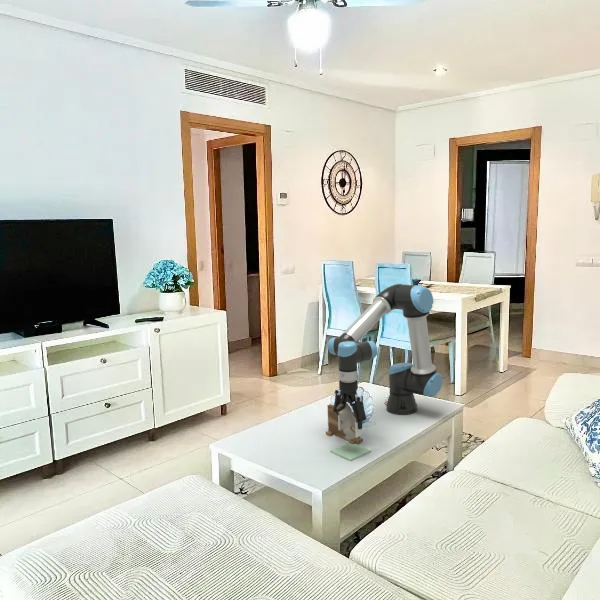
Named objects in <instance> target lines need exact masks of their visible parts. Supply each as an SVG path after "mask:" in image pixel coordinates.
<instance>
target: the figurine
mask: <svg viewBox="0 0 600 600" xmlns="http://www.w3.org/2000/svg"><path fill="white" fill-rule="evenodd" d="M336 410H337V411H338V413H339V417H340V420H341V421H342V423H341V427H342V428H343V431H344V433H345V434H346V436H345V439H347V440H349V439H354V438H356V432H355V421H356V419H355V417H354V416H353V414H352V412H353V409H352V407H351V406H350V404H349V403H348V402H346V404H345V403H341V404H339V405H338V406H337V408H336ZM345 439H344V440H345ZM347 440H346V441H347Z"/></svg>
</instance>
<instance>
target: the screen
mask: <svg viewBox="0 0 600 600" xmlns="http://www.w3.org/2000/svg"><path fill="white" fill-rule="evenodd" d="M333 409H334V404H331V403H330V404H328V405H327V424H328V425H327V426H328V427H327V429H328V430H326V431H325V435H326V436H328V437H332V436H335V437H337V438H340V439H343V440H345V441H347V443H351V444H357V445H360V444H361V443H363V442H364V439H363V438H361V436H359V437H356V438H354V439H349V440H347V439H345V436H346V434H345V433H344V431H343V429H342V430H339V429H338V420H337V414H336V412H334V411H333ZM352 414H353V416H354V417H355V415H354V412H353V411H352ZM355 419H356V417H355ZM356 421H357V420H356Z"/></svg>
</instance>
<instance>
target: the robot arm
mask: <svg viewBox="0 0 600 600" xmlns="http://www.w3.org/2000/svg"><path fill="white" fill-rule="evenodd" d="M433 304H434V297H433V293H432V291H431V290H430V289H429V288H428V287H426V286H422V285H418V284H417V285H414V284H402V283H396V284H393V285H390V286H388V287H387V288H384V289H383V290H382V291H380V292H379V293H378V294H377V295H376V296H374V298H373V299H372V302H371V304H370V305H369V306H368V307H367V308H366V309H364V311H363V312H362V313H361V314H360V315H359V316H358V317H357V318H356V319H355V320H354V321H353V322H352V323H351V325H349V326H348V327H347V329H345V331H343V333H342V334H341V335H339V337H338V336H336V337H331V338H330V339H329V340H328V342H327V351H328V352H329V353H330V354H332V355H335V356H337V357H338V361H337V362H338V379H339V380H338V381H339V382H338V385H339V386H338V388H339V389H337V390H335V391H334V395H335V396H334V397H335V398H334V403H333V405H334V409H333V411H334V412H336V414H337V420H338V429H339V430H342V429H343V428H342V427H341V423H342V421H341V420H340V417H339V413H338V411H337V410H336V408H337V406H338V405H339V404H341V403H345V404H346V403H348V405H349V406H350V407H351V409H352V412H354V415H355V417H356V420H357V421H355V432H356V437H359V436H360V437H361V436H363V435H362V433H363V432H362V430H363V422H364V421H366V420H367V416H366V411H365V406H364V405H365V404H364V396H363V395H358V392H357V391H358V387H359V384H358V383H359V382H358V379H359V377H358V364H360V363H363V362H367V361H371V360H372V359H374V358H376V357H377V355H378V351H379V349H378V347H377V346H378V345H377V343H375V342H374V341H372V340H367V341H364V342H363V341H361V340H362V338H364V337H365V336H366V335H367V333H369V331H371V329H372V328H373V327H374V326H375V325H376V324H377V323H378V322H379V321H380V320H381V319H382V317H384V316H385V315H387V314H389V313H390V312H392V311H393V310H401V311H402V315H403V317H404V318H405V319H406V320H407V328H408V335H409V343H410V349H411V350H410V351H411V358H412V363H411V362H399V363H394V364H392V365H390V367H389V368H388V369H389V370H388V371H389V373H388V380H389V381H388V383H389V395H388V399H387V402H386V408H385V409H386V411H387V412H388V413H391V414H394V415H400V416H401V415H402V416H403V415H411V414H414V413H417V412H418V403H417V402H416V398H415V395H416V394H417V395H420V396H424V397H429V398H433V397H436V396H437V395H438V394H439V393H440V391H441V389H442V386H443V376H442V374H441V373H439V372H437V367H436V365H435V364H433V361H432V352H431V346H430V337H429V328H428V321H427V316H428V315H430V311H431V310H432V309H433ZM414 394H415V395H414Z"/></svg>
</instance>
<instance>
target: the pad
mask: <svg viewBox="0 0 600 600" xmlns="http://www.w3.org/2000/svg"><path fill="white" fill-rule="evenodd" d="M329 452H330V453H331V454H334V455H336V456H338V457H341V458H343V459H345V460H347V461H349V462H352V461H354V460H356V459H359V458H360V457H361V458H362V456H363V457H364V456H366V455H368V454H370V453H371V452H372V450H371V449H368V448H366V447H364V446H362V445H360V444H358V445H357V444H351V443H348V442H347V443H345V444H342V445H340V446H338V447H336V448H333V449H330V450H329ZM367 453H368V454H367Z"/></svg>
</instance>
